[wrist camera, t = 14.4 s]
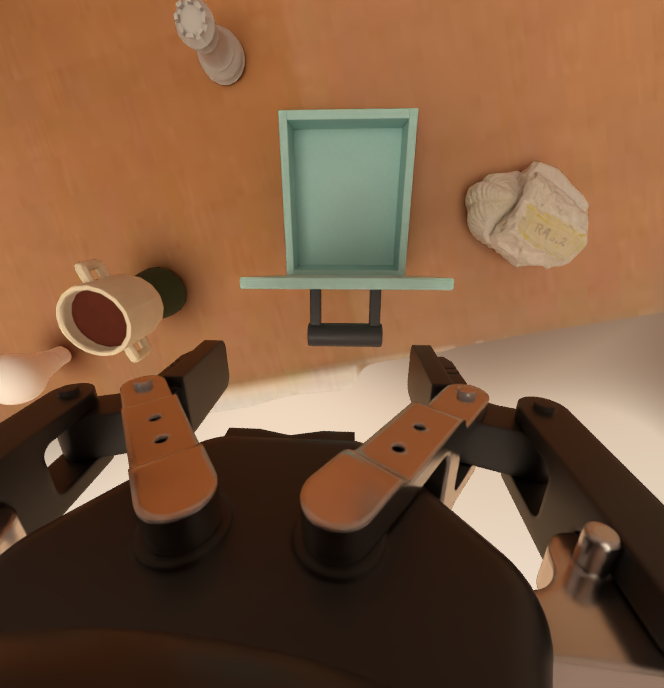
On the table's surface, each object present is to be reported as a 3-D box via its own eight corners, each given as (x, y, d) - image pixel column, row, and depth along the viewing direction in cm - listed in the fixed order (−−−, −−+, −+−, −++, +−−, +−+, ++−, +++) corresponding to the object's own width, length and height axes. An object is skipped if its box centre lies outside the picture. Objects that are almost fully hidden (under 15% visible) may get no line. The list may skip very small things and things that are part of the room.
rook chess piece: (254, 70, 33) (229, 30, 26) (220, 96, 34) (185, 65, 27) (229, 20, 32) (193, -36, 25) (193, 50, 33) (149, 4, 26)
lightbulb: (44, 363, 48) (-38, 405, 37) (45, 326, 45) (-42, 359, 35) (87, 376, 48) (17, 421, 38) (89, 340, 46) (17, 378, 36)
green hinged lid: (239, 277, 20) (243, 351, 21) (454, 278, 20) (448, 354, 21) (286, 274, 36) (287, 317, 37) (405, 275, 36) (403, 318, 37)
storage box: (286, 122, 35) (277, 110, 31) (409, 120, 35) (418, 107, 30) (293, 270, 41) (287, 277, 37) (398, 270, 40) (404, 278, 36)
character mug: (118, 258, 41) (25, 278, 29) (167, 240, 40) (92, 253, 28) (161, 335, 45) (94, 381, 33) (207, 320, 44) (155, 362, 32)
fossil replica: (465, 160, 36) (447, 253, 40) (488, 157, 29) (463, 270, 33) (583, 164, 35) (551, 259, 39) (638, 161, 27) (591, 278, 32)
